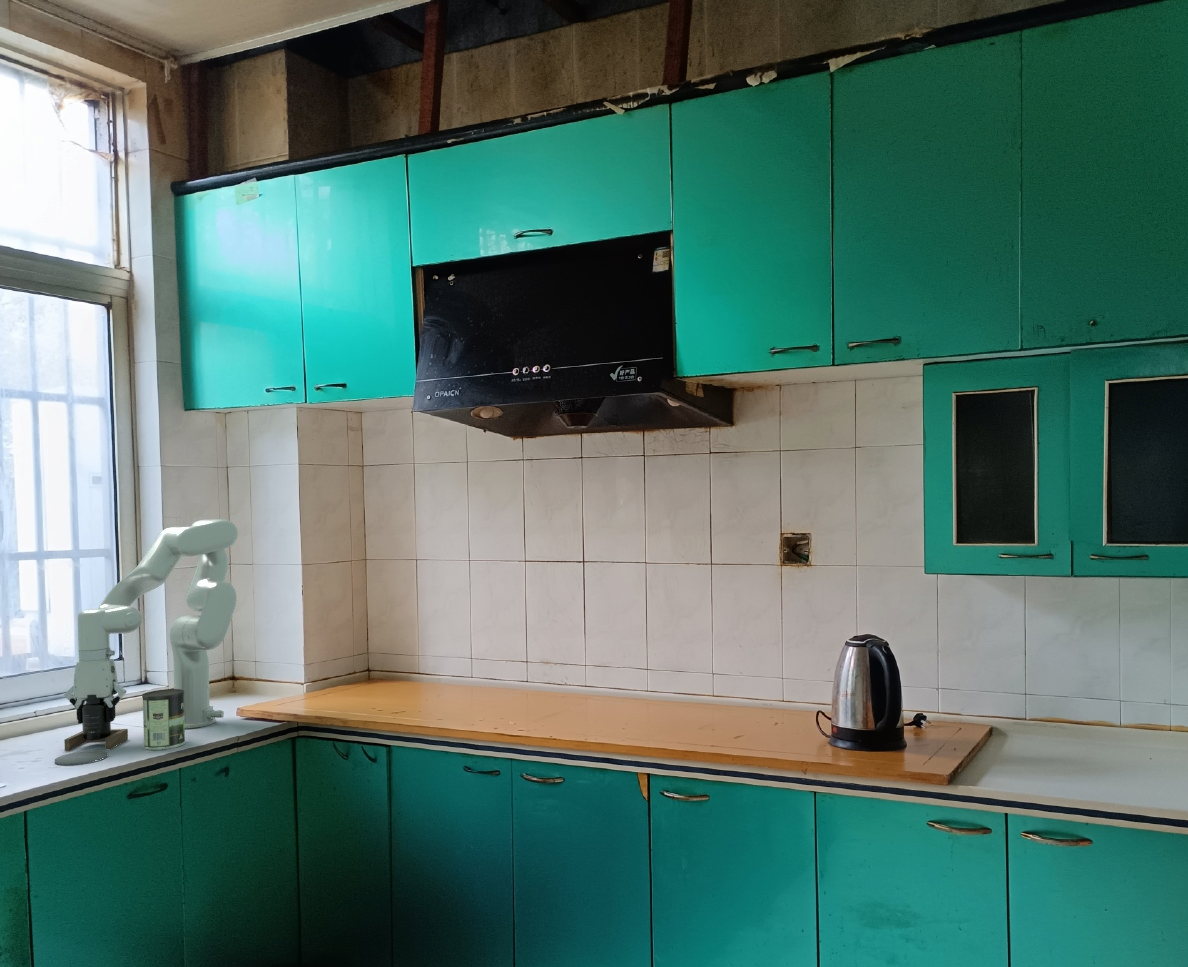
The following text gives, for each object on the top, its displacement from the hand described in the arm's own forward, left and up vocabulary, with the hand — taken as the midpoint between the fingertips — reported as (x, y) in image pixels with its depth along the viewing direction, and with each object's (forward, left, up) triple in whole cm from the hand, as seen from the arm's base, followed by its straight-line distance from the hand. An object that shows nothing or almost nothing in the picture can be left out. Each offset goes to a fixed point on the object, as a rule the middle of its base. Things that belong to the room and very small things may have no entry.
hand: (96, 721), depth 268 cm
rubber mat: (-3, +14, -6) cm, 16 cm away
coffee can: (-19, +2, -7) cm, 20 cm away
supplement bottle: (0, 0, -5) cm, 5 cm away
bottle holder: (0, 0, -6) cm, 6 cm away
